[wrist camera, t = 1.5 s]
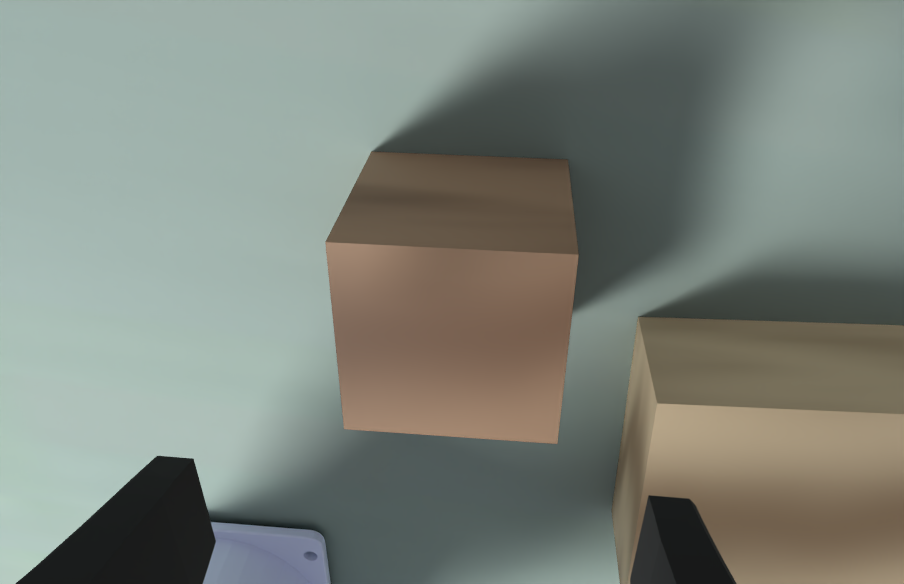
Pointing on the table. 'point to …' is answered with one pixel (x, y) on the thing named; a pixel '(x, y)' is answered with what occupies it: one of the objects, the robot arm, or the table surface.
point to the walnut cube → (454, 295)
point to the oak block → (770, 445)
